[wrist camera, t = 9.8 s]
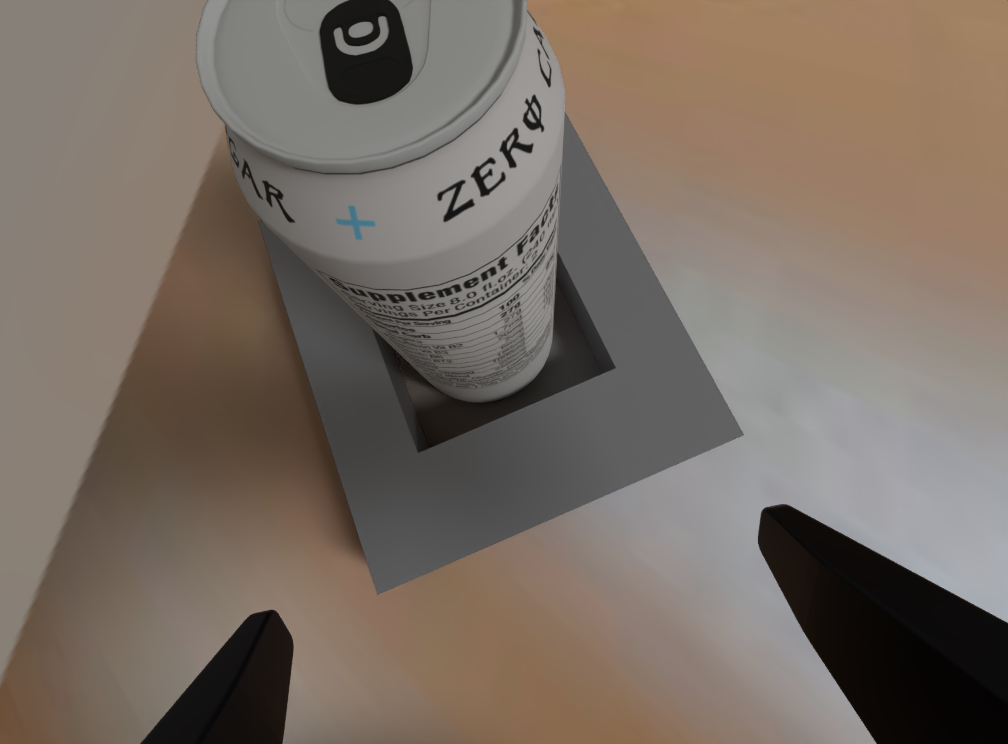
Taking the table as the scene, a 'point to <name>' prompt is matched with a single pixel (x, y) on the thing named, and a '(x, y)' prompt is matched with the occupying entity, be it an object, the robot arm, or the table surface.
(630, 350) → the socket block
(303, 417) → the table surface
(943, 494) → the table surface
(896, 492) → the table surface
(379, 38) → the energy drink can
